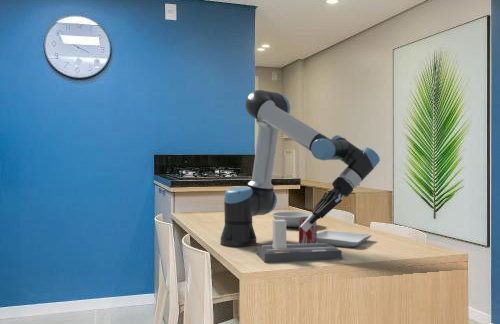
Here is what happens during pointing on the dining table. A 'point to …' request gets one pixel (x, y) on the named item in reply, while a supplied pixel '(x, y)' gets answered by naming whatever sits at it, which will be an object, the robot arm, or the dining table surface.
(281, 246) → the tab
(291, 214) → the soup bowl
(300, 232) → the soda can
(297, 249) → the switch board
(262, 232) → the dining table surface
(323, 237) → the salad plate
